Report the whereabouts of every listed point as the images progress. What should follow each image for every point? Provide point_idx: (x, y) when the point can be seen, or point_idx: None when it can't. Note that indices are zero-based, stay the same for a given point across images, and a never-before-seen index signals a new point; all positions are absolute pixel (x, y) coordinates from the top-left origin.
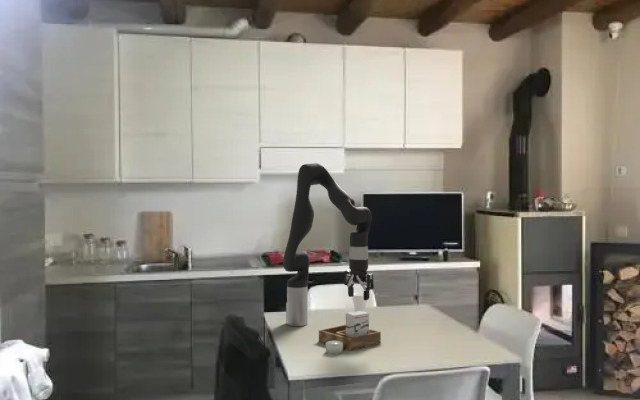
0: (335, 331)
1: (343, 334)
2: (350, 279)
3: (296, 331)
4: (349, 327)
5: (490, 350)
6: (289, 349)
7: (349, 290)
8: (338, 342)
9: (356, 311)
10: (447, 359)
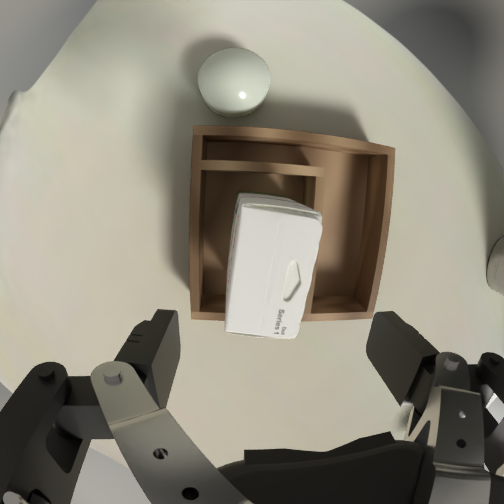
0: (373, 231)
1: (273, 164)
2: (471, 428)
3: (477, 203)
4: (266, 197)
5: None
6: (359, 28)
7: (408, 339)
8: (227, 92)
9: (302, 301)
10: (3, 292)
